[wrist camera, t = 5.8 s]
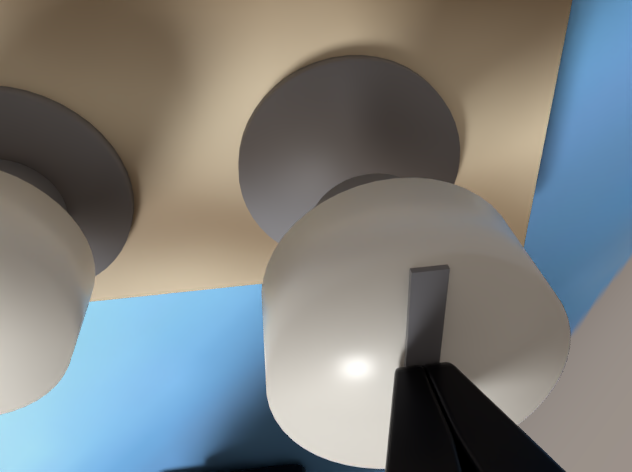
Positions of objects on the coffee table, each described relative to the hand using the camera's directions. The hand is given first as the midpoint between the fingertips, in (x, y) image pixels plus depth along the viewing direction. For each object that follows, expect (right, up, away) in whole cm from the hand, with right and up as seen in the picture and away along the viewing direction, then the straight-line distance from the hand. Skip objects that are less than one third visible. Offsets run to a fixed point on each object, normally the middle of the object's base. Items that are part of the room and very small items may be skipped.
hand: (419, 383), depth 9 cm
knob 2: (0, +2, +4) cm, 4 cm away
